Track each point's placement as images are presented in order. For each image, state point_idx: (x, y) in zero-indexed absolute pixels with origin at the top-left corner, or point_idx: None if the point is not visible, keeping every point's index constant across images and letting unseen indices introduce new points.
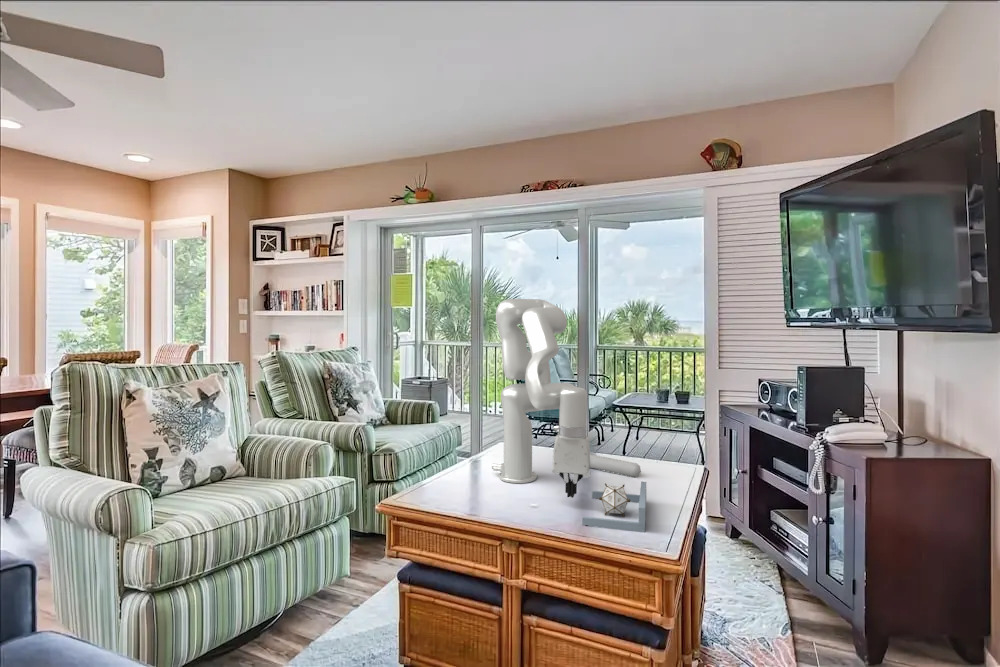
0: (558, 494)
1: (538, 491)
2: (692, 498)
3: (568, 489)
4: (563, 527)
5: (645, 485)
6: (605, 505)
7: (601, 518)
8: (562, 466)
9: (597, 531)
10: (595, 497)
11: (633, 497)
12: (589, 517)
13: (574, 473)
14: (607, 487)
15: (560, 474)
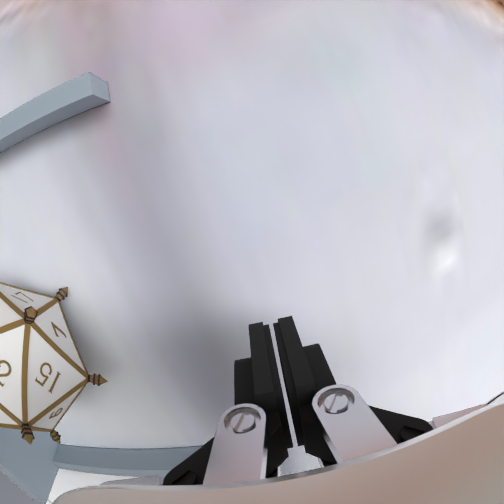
0: None
1: (438, 396)
2: None
3: (293, 349)
4: (195, 6)
5: (5, 474)
6: (32, 303)
7: (5, 134)
8: (469, 501)
9: (32, 66)
10: None
11: (73, 458)
12: (54, 101)
13: (228, 486)
14: (12, 410)
15: (422, 427)
